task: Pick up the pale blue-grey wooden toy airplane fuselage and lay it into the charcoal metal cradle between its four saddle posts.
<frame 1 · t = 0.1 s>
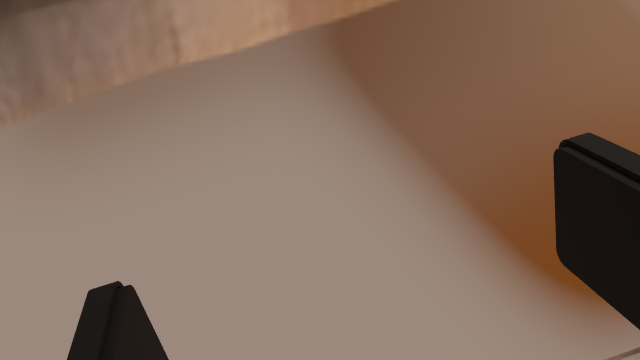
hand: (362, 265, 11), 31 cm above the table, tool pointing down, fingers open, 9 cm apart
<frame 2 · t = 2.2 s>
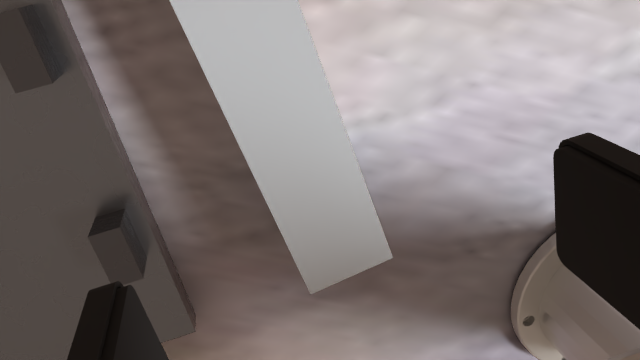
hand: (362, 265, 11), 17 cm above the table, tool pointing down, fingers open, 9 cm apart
fuselage: (268, 86, 27), on the table
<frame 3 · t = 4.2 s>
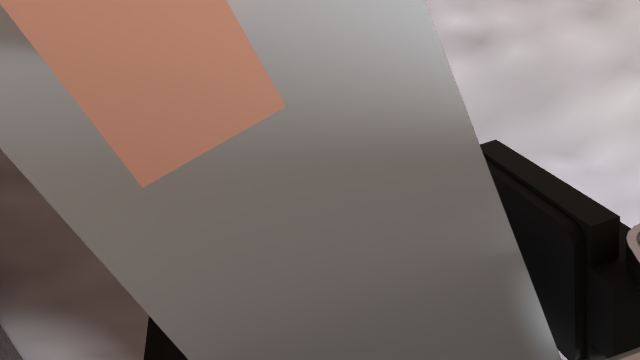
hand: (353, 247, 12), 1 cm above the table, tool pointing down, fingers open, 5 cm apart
fuselage: (332, 228, 13), on the table, touching gripper
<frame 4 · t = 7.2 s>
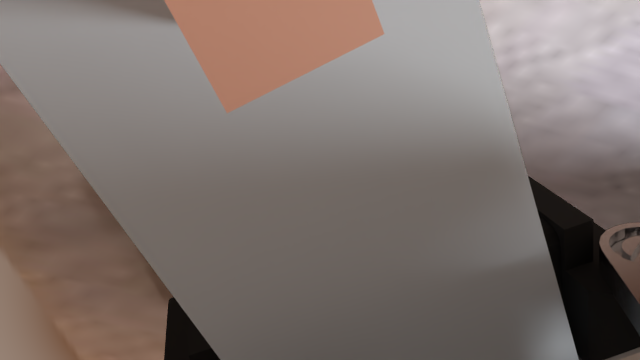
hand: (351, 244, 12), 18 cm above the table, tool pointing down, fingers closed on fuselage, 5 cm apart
fuselage: (341, 222, 13), point 17 cm above the table, touching gripper
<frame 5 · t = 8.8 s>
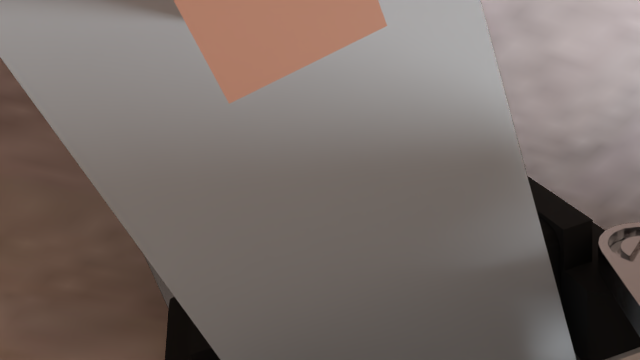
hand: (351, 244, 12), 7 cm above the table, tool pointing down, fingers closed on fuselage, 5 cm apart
fuselage: (339, 222, 13), point 6 cm above the table, touching gripper
when the fingers open (4 cm above the table, at t = 9.9 s): fuselage drops 1 cm, resting on cradle.
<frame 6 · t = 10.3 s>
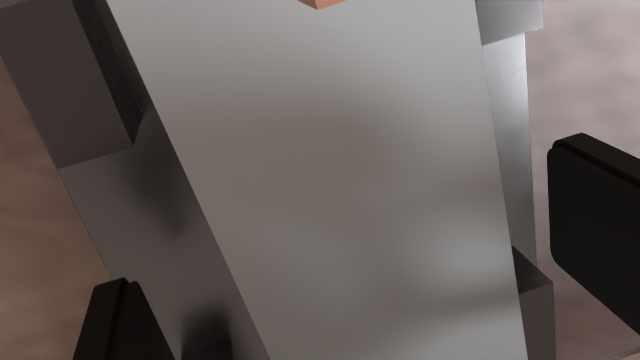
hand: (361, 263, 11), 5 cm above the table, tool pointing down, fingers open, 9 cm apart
fuselage: (327, 196, 14), point 1 cm above the table, touching cradle
cradle: (315, 177, 15), on the table
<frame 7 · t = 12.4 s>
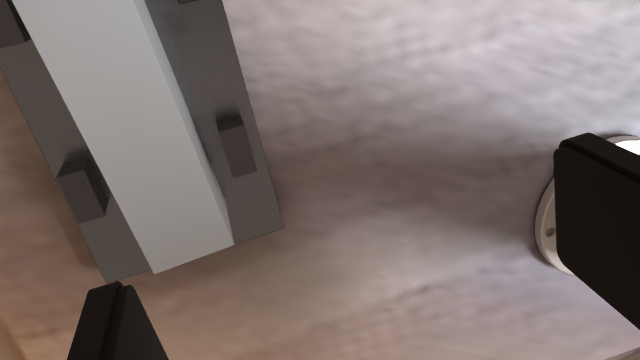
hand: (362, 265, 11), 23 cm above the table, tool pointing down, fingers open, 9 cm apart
fuselage: (131, 79, 29), point 1 cm above the table, touching cradle
cradle: (133, 75, 30), on the table
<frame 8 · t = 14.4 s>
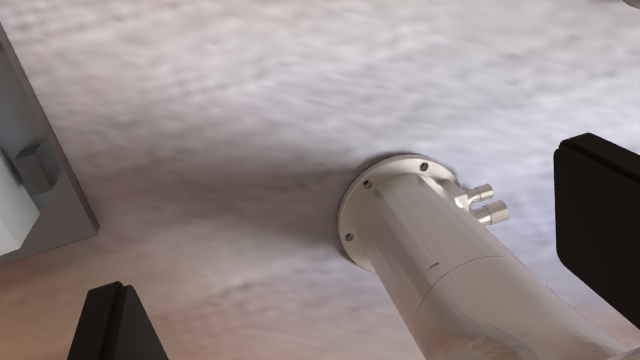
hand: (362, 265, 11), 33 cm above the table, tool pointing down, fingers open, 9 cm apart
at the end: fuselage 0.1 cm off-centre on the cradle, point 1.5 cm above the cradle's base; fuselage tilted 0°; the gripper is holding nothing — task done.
